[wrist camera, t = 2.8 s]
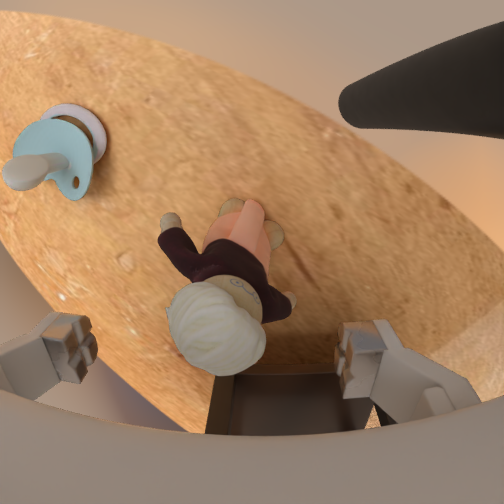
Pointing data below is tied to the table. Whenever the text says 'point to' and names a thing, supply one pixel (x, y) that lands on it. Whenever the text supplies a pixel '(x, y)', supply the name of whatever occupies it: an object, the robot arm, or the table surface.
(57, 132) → the pacifier
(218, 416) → the rack
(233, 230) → the grandmother figurine
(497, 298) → the table surface
